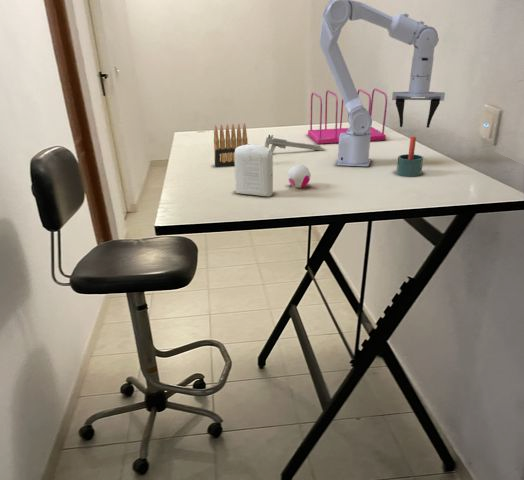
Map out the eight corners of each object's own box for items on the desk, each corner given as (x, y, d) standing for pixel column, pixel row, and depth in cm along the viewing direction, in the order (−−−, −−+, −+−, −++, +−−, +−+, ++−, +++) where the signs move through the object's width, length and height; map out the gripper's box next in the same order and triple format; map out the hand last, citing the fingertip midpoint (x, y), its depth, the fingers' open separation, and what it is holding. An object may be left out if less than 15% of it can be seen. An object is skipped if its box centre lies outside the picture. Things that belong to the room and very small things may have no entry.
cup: (395, 175, 150) (397, 159, 148) (396, 169, 156) (398, 153, 154) (421, 177, 149) (423, 160, 146) (421, 170, 154) (423, 154, 152)
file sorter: (385, 140, 189) (390, 92, 180) (317, 144, 187) (319, 95, 178) (371, 131, 204) (374, 86, 195) (307, 134, 201) (308, 89, 192)
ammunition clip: (248, 163, 167) (246, 122, 160) (249, 164, 165) (247, 123, 159) (214, 165, 165) (211, 124, 159) (215, 167, 164) (212, 125, 157)
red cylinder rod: (406, 172, 152) (410, 137, 146) (406, 170, 153) (410, 136, 148) (411, 172, 151) (416, 137, 146) (411, 170, 153) (416, 136, 147)
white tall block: (275, 193, 139) (275, 144, 133) (269, 197, 136) (268, 147, 129) (239, 189, 143) (237, 141, 136) (233, 194, 139) (230, 145, 133)
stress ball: (301, 203, 142) (315, 184, 138) (278, 184, 141) (291, 164, 137) (309, 194, 148) (323, 175, 143) (287, 176, 147) (300, 156, 143)
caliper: (265, 154, 176) (265, 134, 172) (265, 154, 177) (264, 134, 173) (324, 150, 179) (324, 130, 176) (323, 149, 180) (323, 130, 177)
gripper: (393, 77, 148) (388, 128, 155) (447, 77, 144) (439, 130, 152) (395, 74, 153) (390, 124, 161) (447, 74, 150) (439, 125, 157)
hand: (414, 126), depth 157 cm, fingers open, 7 cm apart
